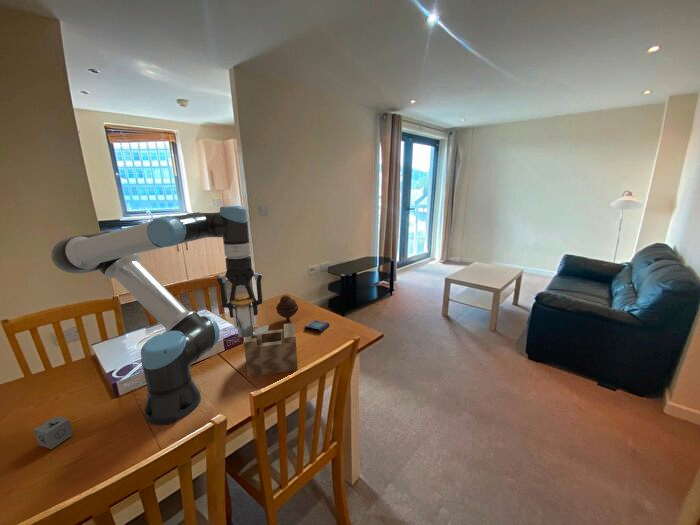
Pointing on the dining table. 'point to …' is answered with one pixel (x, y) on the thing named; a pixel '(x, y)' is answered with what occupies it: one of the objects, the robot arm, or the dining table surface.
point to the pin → (243, 314)
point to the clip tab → (260, 330)
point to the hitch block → (271, 351)
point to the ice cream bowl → (287, 307)
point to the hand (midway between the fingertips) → (245, 325)
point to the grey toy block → (53, 432)
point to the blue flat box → (317, 325)
